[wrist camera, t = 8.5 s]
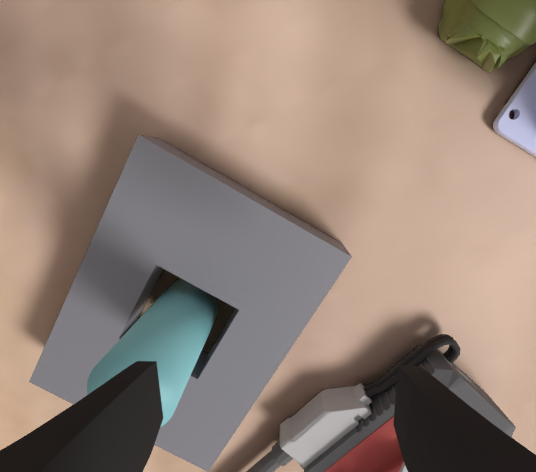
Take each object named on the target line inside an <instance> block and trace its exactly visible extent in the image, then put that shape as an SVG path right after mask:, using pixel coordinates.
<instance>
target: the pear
mask: <svg viewBox="0 0 536 472" xmlns="http://www.w3.org/2000/svg"><path fill="white" fill-rule="evenodd" d="M438 30H439V35H440V39H441V40H443V41H444V42H445V43H446V44H448V45H450V46H451V47H453V48H454V49H456V50H457V51H459V52H460V53H462V54H463V55H465V56H466V57H467V58H469V59H471V61H472V62H474V63H476V64H477V65H478V66H479V67H481V68H482V69H483V70H485V71H486V72H488V73H489V72H491V71H492V70H493V69H498V68H499V67H500V66H501V65H502V64H503V63H504V62H505V60H506V59H509V58H513V57H515V56H517V55H519V54H520V53H522V52H523V51H524V50H526V49H527V48H528V47H529V46H530V45H533V44H535V43H536V0H445V2H444V5H443V15H442V18H441V21H440V23H439V24H438Z"/></svg>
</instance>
